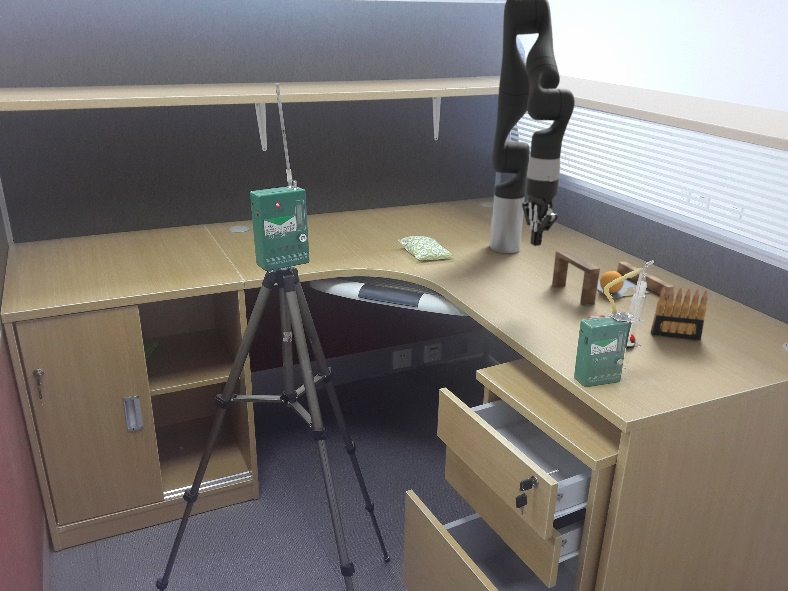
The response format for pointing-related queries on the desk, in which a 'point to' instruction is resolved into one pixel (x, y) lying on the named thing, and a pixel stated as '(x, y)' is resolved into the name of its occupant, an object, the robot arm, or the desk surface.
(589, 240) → the desk surface
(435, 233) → the desk surface
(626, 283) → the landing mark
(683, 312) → the ammunition clip
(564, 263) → the bridge
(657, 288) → the stopper wall
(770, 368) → the desk surface
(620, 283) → the ball
